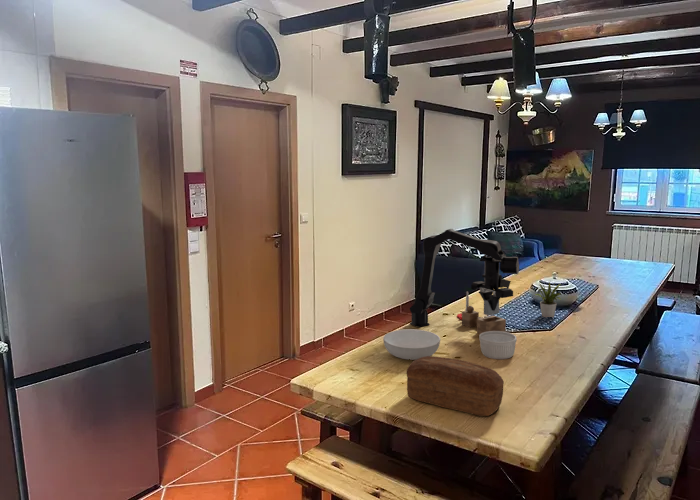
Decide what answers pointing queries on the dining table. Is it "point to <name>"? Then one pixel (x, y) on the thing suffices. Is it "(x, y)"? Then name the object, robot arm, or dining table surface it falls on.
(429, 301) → the robot arm
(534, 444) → the dining table surface
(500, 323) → the wooden hollow frame
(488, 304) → the tall grey upright block
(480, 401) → the bread
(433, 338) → the serving bowl
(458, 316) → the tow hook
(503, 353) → the ramekin
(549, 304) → the house plant
